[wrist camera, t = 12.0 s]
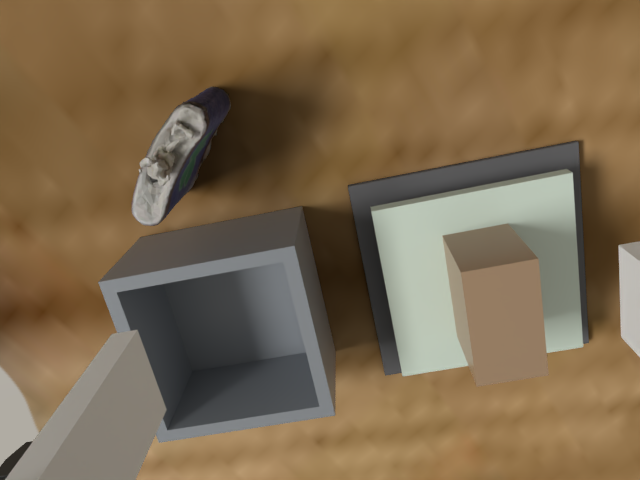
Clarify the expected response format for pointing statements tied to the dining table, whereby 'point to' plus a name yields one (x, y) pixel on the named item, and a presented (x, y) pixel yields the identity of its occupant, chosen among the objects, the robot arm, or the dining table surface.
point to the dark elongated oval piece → (177, 155)
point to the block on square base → (483, 277)
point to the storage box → (229, 323)
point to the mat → (449, 181)
